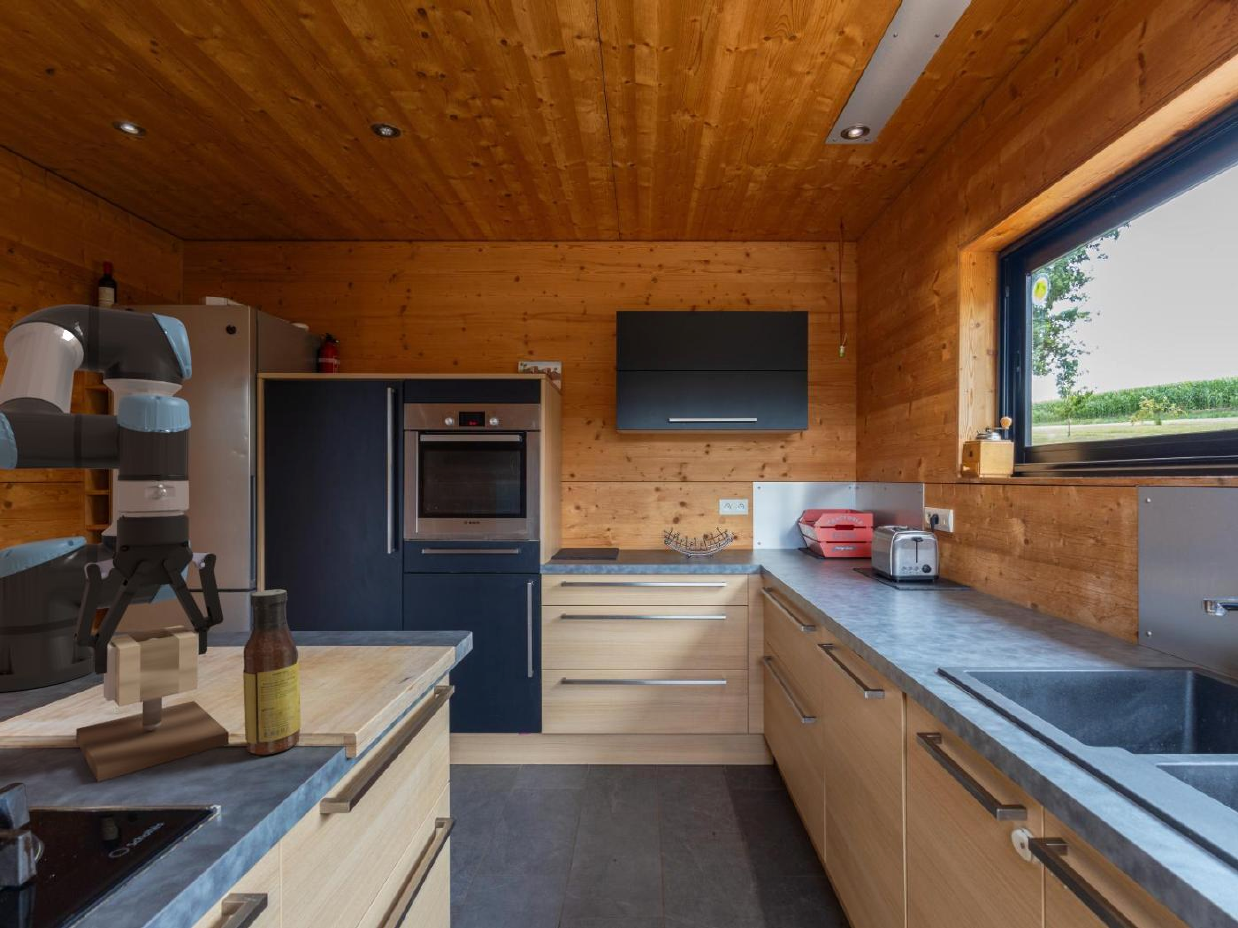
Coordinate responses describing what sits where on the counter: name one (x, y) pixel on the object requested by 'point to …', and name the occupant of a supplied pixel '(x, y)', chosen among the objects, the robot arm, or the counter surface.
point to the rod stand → (149, 738)
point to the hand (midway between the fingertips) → (152, 688)
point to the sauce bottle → (271, 678)
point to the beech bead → (154, 664)
